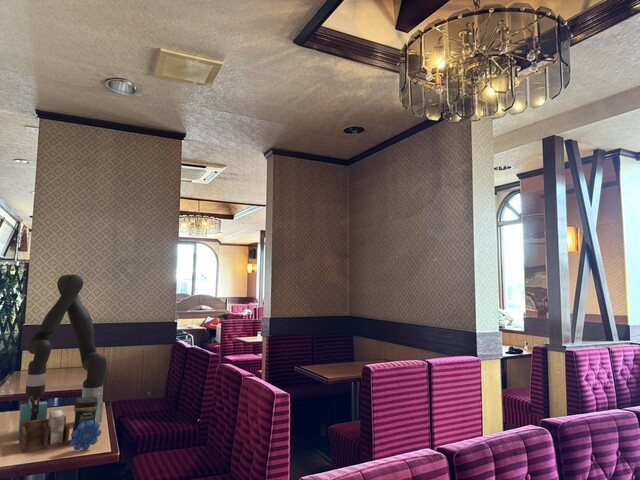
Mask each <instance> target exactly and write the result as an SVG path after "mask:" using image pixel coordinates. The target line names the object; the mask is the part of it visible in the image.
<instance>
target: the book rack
mask: <svg viewBox="0 0 640 480" xmlns="http://www.w3.org/2000/svg"><path fill="white" fill-rule="evenodd" d="M69 437H70V426H69V424H68V423H67V415H65V414H64V412H63V411H62V409H58V410H52V411H49V415H48V418H46V419H41V420H34V421H27V422H21V430H20V439H19V441H18V442H19V447H20V451H21V454H25V453H30V452H31V453H32V452H36V451H42V450H48V449H53V448H58V447H60V448H61V447H65V446H69V445H70V441H69V439H70V438H69Z"/></svg>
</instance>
